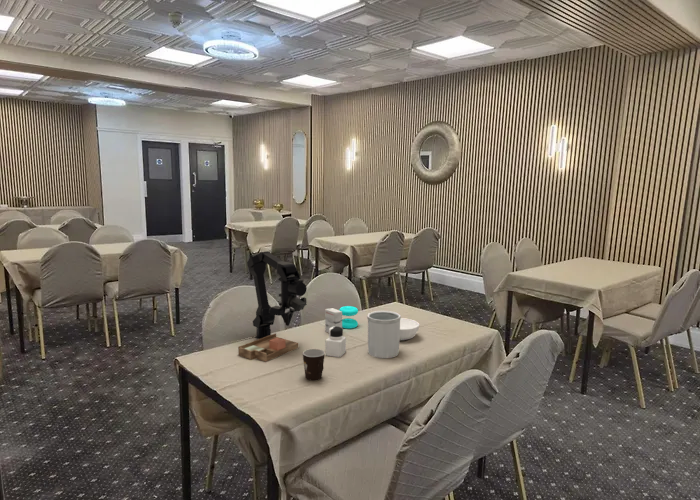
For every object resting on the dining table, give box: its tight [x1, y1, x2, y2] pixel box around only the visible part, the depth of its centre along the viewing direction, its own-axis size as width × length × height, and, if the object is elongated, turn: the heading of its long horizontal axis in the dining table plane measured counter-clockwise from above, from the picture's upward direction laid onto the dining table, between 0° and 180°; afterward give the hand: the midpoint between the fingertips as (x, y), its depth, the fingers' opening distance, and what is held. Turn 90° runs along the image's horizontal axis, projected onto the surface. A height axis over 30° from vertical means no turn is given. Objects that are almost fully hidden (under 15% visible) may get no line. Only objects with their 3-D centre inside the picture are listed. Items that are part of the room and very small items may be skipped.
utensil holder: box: [366, 310, 402, 359], centre depth 206 cm, size 15×15×18 cm
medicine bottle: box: [324, 326, 347, 358], centre depth 204 cm, size 7×7×12 cm
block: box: [269, 336, 287, 351], centre depth 204 cm, size 5×5×4 cm
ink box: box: [324, 307, 343, 334], centre depth 232 cm, size 9×5×12 cm, turn 39°
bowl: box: [399, 317, 420, 341], centre depth 227 cm, size 18×18×7 cm
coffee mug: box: [302, 348, 326, 382], centre depth 178 cm, size 12×9×10 cm
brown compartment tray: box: [237, 332, 299, 363], centre depth 206 cm, size 15×23×4 cm, turn 145°
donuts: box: [338, 305, 359, 330], centre depth 243 cm, size 10×10×10 cm
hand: (287, 325), depth 208 cm, fingers closed
